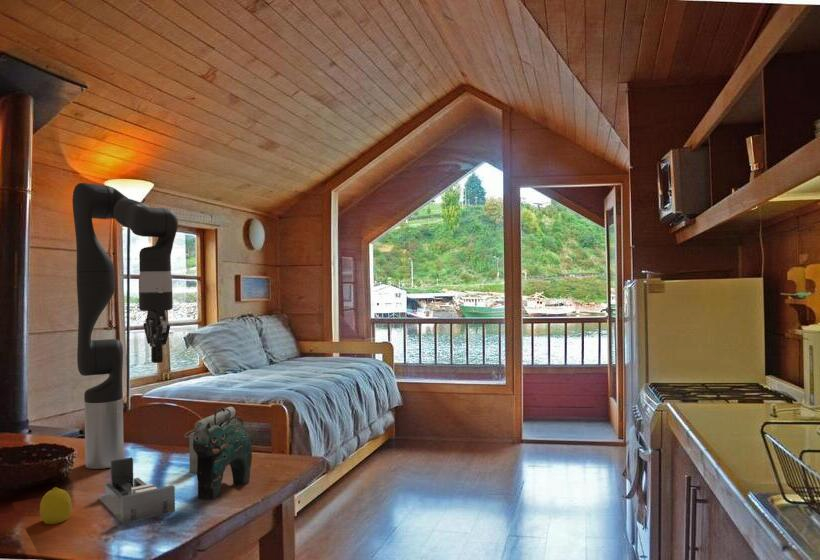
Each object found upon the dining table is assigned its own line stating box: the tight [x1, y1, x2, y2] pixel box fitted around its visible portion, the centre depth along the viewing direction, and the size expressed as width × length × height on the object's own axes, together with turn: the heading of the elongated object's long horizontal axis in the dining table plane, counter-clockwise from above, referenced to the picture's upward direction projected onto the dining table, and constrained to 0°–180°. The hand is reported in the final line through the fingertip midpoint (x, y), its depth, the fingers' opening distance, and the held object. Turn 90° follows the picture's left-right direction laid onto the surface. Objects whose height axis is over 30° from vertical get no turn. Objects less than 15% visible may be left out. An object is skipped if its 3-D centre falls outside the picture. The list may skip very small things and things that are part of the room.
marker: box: [131, 483, 158, 494], centre depth 129 cm, size 4×4×5 cm
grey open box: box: [97, 477, 176, 525], centre depth 134 cm, size 20×10×6 cm, turn 39°
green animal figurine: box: [193, 406, 253, 501], centre depth 145 cm, size 20×6×20 cm, turn 166°
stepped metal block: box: [110, 457, 134, 496], centre depth 139 cm, size 9×4×7 cm, turn 39°
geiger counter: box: [183, 406, 238, 473], centre depth 168 cm, size 14×6×25 cm
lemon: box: [39, 486, 73, 525], centre depth 126 cm, size 6×6×8 cm
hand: (157, 362), depth 153 cm, fingers closed
